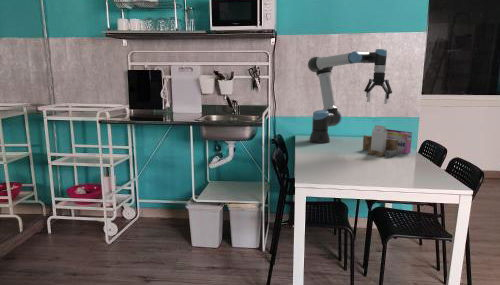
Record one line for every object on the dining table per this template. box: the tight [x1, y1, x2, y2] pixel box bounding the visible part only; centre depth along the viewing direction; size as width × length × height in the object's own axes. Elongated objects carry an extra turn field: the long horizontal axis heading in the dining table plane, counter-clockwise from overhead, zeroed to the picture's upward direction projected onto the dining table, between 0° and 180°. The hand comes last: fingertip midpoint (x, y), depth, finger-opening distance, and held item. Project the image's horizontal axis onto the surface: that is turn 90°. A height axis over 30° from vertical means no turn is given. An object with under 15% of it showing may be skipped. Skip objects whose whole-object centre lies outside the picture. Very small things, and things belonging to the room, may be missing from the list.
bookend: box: [384, 149, 397, 159], centre depth 251 cm, size 2×10×4 cm, turn 134°
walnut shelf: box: [362, 134, 398, 158], centre depth 258 cm, size 24×12×10 cm, turn 44°
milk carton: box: [371, 124, 387, 155], centre depth 255 cm, size 7×7×19 cm
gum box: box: [386, 128, 413, 154], centre depth 269 cm, size 24×8×14 cm, turn 44°
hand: (376, 102), depth 275 cm, fingers open, 13 cm apart
